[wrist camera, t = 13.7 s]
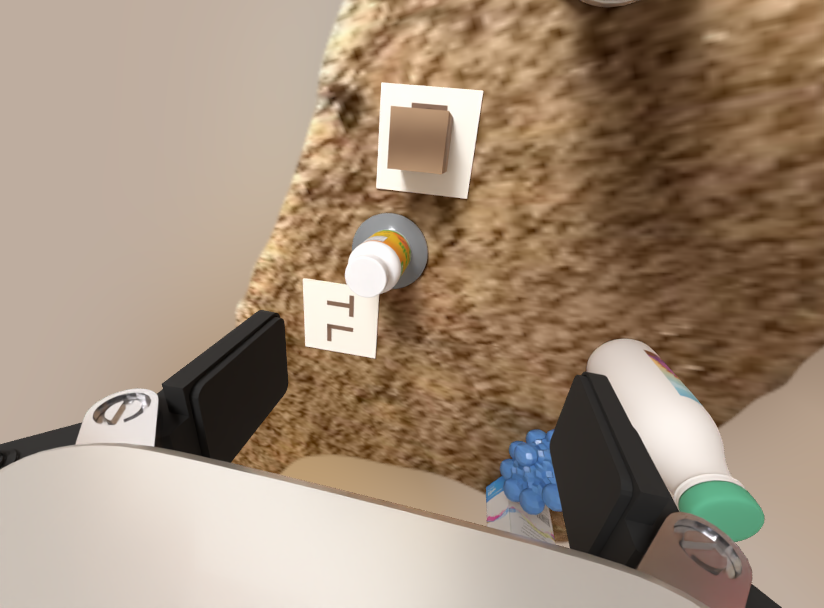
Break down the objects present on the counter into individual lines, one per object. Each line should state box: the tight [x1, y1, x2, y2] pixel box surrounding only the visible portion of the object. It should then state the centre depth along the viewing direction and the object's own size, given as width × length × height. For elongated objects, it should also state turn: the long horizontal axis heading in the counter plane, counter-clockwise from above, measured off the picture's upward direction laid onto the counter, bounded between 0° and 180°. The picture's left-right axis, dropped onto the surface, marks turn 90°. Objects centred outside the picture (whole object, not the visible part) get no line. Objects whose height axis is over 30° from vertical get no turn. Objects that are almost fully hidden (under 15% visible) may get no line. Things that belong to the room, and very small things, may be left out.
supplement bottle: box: [345, 230, 411, 298], centre depth 36 cm, size 5×5×10 cm
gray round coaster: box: [352, 213, 428, 289], centre depth 41 cm, size 9×9×1 cm
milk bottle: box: [587, 339, 764, 542], centre depth 33 cm, size 8×8×20 cm
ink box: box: [486, 476, 555, 544], centre depth 48 cm, size 9×5×12 cm, turn 52°
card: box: [303, 278, 379, 358], centre depth 46 cm, size 10×10×1 cm
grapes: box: [500, 429, 562, 515], centre depth 42 cm, size 12×7×12 cm, turn 135°
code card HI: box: [376, 83, 483, 199], centre depth 36 cm, size 10×10×1 cm
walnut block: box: [387, 106, 453, 174], centre depth 33 cm, size 5×5×6 cm
